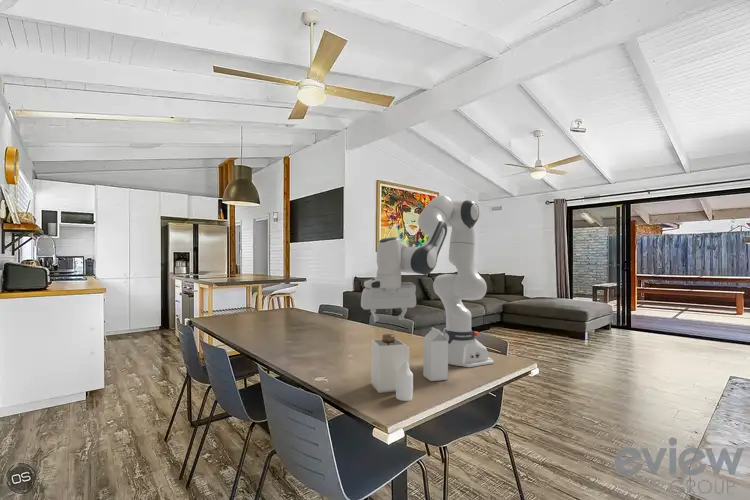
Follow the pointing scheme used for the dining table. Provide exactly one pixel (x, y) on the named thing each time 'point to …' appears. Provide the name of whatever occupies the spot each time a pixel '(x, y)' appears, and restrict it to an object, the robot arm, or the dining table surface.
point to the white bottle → (404, 383)
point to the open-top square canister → (387, 364)
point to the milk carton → (435, 356)
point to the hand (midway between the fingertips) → (388, 320)
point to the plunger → (388, 338)
